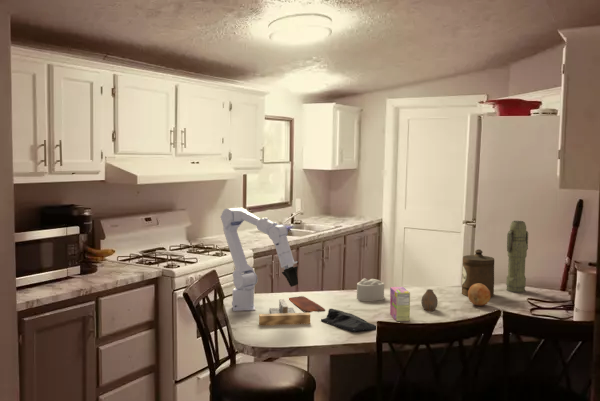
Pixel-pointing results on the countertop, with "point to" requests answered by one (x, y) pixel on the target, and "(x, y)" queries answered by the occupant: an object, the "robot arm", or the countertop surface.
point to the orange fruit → (479, 294)
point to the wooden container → (478, 272)
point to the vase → (429, 300)
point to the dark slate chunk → (347, 321)
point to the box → (400, 303)
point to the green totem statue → (517, 257)
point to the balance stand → (282, 308)
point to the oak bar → (284, 319)
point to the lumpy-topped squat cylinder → (370, 290)
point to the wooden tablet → (306, 304)
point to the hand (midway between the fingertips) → (294, 285)
